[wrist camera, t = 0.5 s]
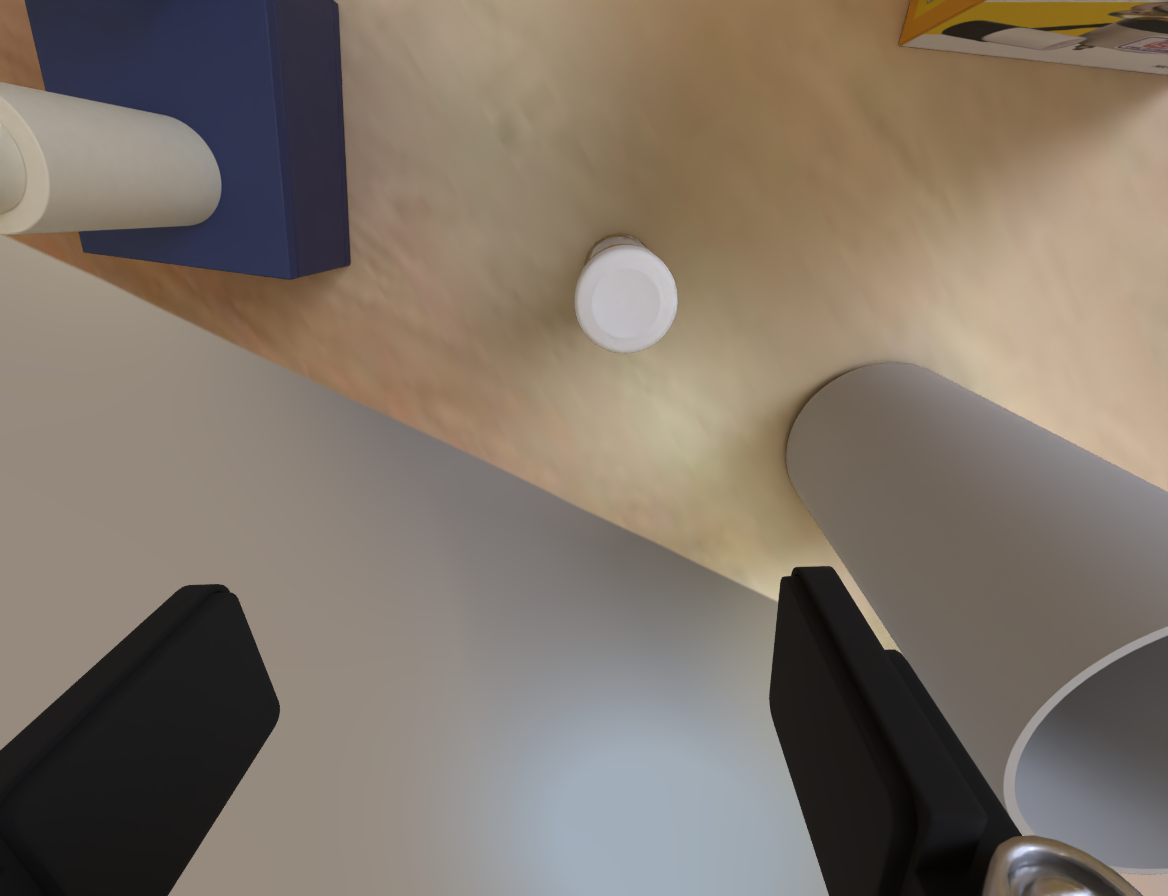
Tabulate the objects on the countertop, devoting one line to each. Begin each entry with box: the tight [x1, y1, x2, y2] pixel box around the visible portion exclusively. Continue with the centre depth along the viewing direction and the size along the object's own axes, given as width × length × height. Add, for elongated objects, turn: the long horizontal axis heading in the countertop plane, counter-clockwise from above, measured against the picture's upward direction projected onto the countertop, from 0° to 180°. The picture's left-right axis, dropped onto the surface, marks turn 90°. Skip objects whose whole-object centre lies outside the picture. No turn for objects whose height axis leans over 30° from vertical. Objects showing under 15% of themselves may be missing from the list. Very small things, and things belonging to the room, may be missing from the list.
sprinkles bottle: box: [574, 233, 678, 353], centre depth 30 cm, size 5×5×14 cm
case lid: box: [25, 0, 298, 280], centre depth 25 cm, size 15×11×5 cm
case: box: [274, 0, 350, 278], centre depth 31 cm, size 14×11×7 cm
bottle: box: [0, 82, 221, 235], centre depth 22 cm, size 5×5×13 cm
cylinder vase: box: [786, 363, 1168, 875], centre depth 29 cm, size 12×12×25 cm
